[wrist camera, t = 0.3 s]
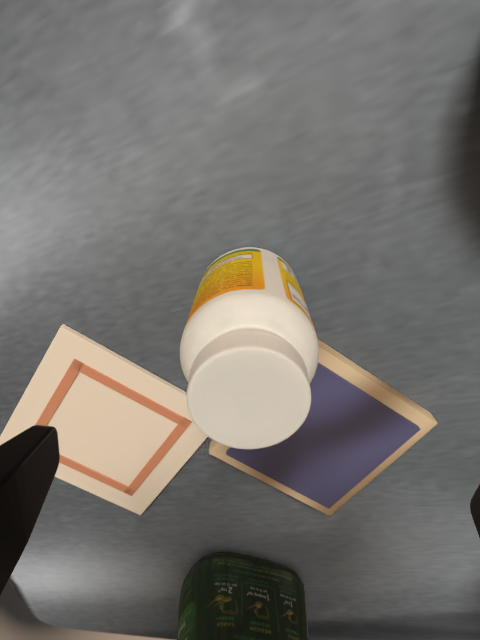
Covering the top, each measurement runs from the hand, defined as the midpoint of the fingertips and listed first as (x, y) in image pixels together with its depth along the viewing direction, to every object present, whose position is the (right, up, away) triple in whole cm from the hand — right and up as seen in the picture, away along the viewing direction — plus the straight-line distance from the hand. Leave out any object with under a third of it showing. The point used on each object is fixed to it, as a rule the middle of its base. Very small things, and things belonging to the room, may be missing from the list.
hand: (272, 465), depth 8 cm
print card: (-9, -4, +17) cm, 20 cm away
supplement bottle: (0, +5, +13) cm, 14 cm away
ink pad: (+4, -4, +17) cm, 18 cm away
